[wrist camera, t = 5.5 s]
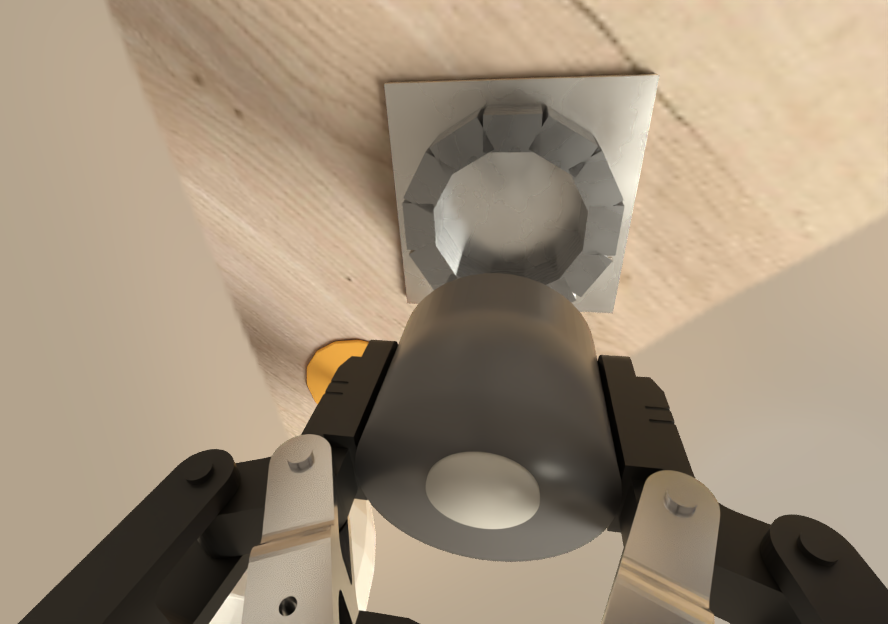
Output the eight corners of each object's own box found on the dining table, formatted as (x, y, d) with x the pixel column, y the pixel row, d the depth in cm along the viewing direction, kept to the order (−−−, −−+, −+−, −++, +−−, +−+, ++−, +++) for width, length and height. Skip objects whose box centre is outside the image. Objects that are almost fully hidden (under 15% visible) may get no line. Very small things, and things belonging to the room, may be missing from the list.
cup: (445, 420, 33) (390, 687, 20) (344, 438, 36) (239, 680, 23) (392, 325, 29) (278, 582, 16) (283, 354, 32) (111, 590, 19)
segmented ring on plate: (387, 82, 21) (367, 91, 18) (656, 73, 19) (675, 82, 17) (409, 298, 28) (397, 326, 25) (611, 307, 26) (620, 339, 23)
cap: (394, 268, 12) (331, 385, 8) (609, 277, 11) (651, 412, 7) (411, 415, 15) (370, 549, 11) (581, 431, 14) (599, 582, 10)
